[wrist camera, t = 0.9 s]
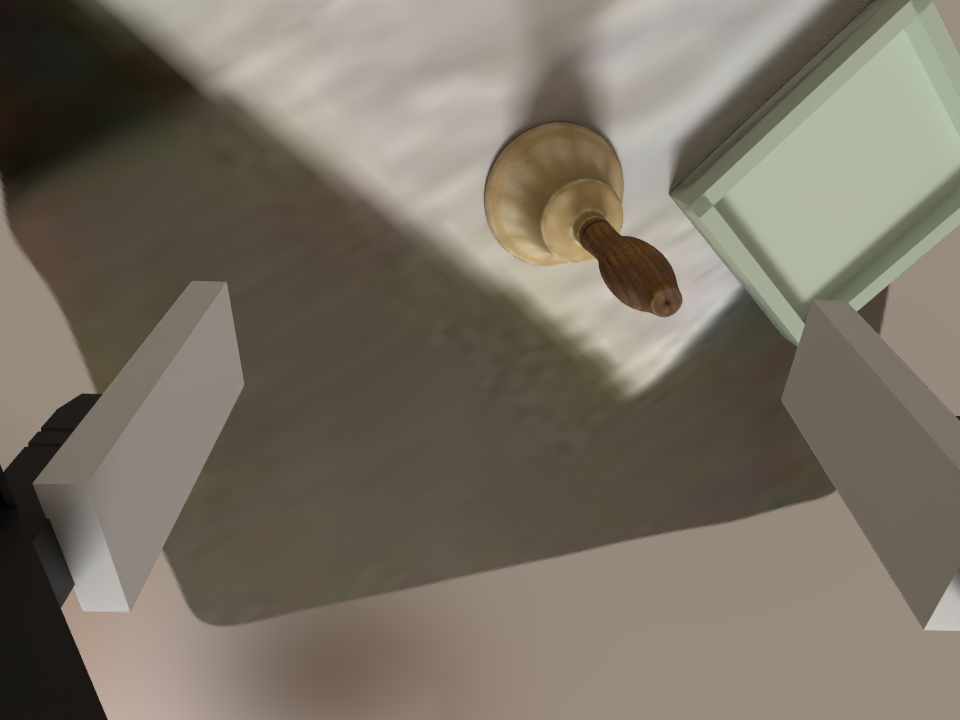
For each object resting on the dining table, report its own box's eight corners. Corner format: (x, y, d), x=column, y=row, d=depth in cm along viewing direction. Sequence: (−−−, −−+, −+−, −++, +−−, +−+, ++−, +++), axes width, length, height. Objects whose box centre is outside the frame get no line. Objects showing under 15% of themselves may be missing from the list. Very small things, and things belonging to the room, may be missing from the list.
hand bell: (577, 285, 44) (696, 418, 30) (459, 231, 41) (530, 352, 27) (648, 161, 41) (815, 245, 27) (527, 94, 38) (646, 149, 24)
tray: (888, -14, 39) (926, -15, 37) (979, 165, 46) (1017, 174, 43) (668, 194, 42) (690, 206, 40) (782, 335, 49) (807, 353, 46)
